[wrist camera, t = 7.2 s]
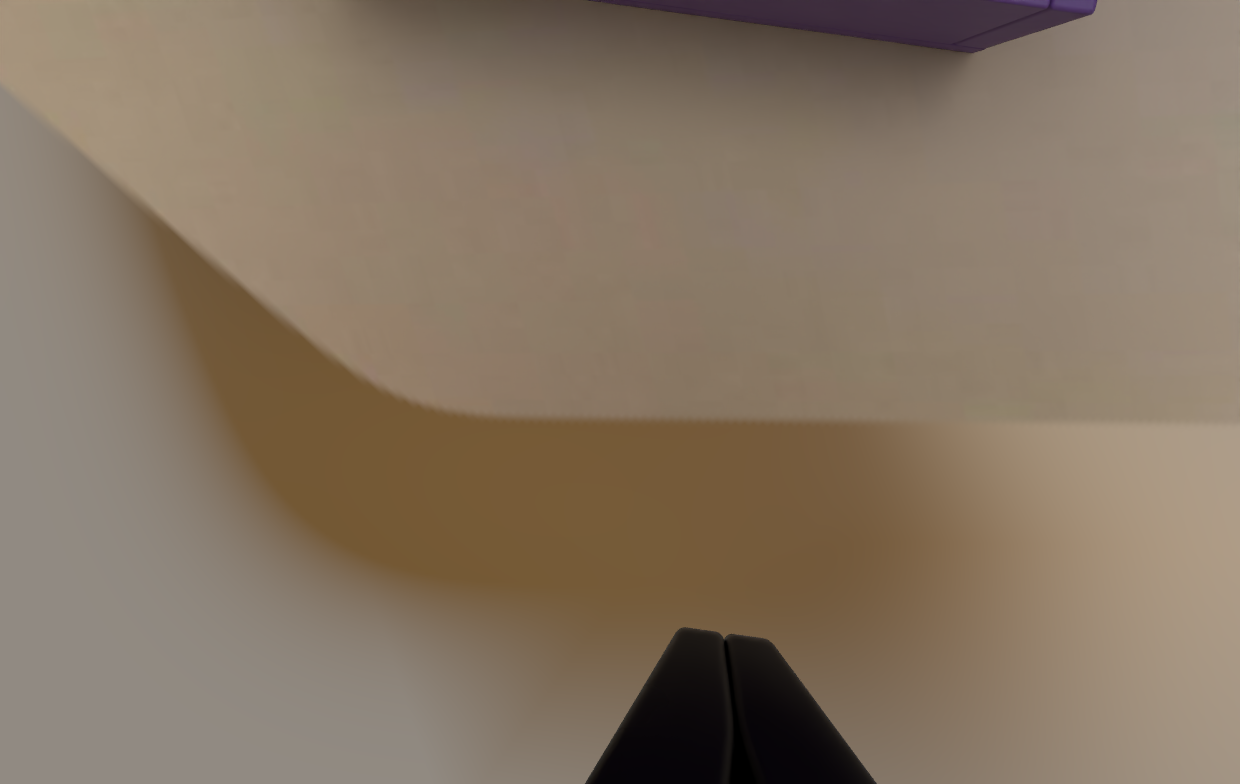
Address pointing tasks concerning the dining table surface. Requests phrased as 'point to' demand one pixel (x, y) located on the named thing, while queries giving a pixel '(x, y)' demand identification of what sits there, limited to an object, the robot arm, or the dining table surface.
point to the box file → (893, 17)
